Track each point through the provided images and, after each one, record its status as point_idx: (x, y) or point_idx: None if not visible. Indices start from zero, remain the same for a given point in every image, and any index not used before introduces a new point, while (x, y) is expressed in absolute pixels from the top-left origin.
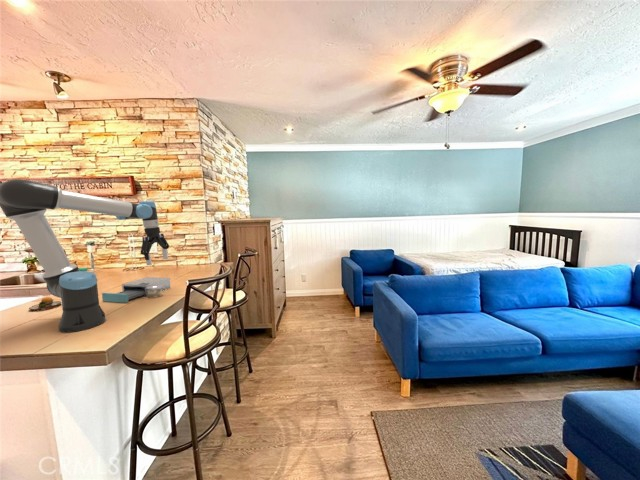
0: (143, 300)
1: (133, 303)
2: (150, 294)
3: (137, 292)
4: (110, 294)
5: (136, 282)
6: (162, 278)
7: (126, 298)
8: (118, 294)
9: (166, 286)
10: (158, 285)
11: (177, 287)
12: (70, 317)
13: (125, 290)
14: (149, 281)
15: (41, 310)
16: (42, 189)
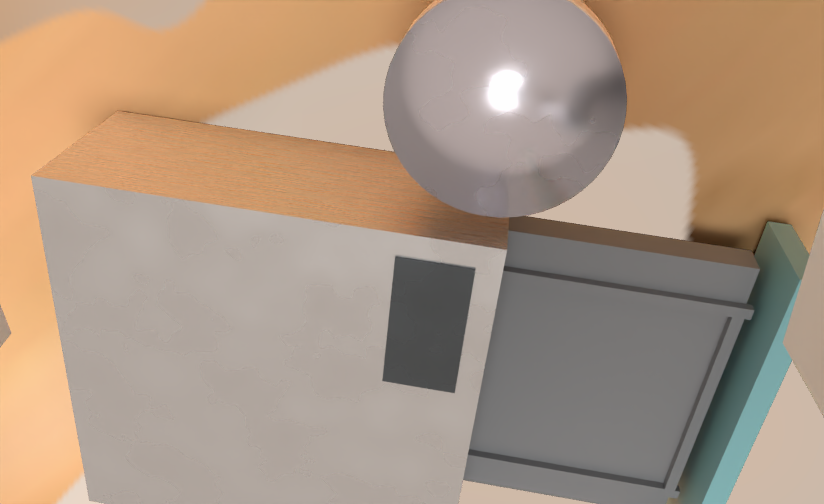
0: (691, 88)
1: (813, 131)
2: None
3: (563, 283)
4: (732, 476)
5: (358, 466)
6: (92, 272)
7: (806, 253)
8: (777, 386)
9: (166, 138)
10: (481, 45)
11: (61, 25)
12: None
13: None
14: (288, 342)
15: None
16: None
